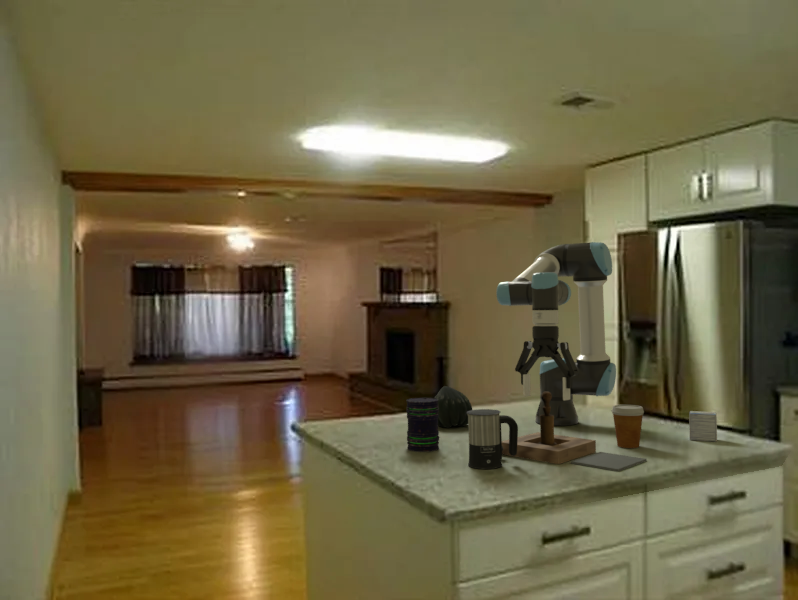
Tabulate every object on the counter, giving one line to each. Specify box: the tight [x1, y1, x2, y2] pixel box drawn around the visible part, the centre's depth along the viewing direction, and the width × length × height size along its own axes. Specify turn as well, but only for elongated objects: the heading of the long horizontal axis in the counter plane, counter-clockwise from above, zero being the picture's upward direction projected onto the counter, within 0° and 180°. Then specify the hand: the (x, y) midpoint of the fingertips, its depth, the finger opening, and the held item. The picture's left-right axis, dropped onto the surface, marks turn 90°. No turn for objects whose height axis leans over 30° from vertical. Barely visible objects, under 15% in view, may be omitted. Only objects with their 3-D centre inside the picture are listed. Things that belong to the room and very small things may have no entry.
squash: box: [434, 385, 473, 429], centre depth 255 cm, size 14×15×15 cm
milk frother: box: [467, 408, 519, 470], centre depth 197 cm, size 14×16×15 cm
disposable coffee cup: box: [610, 404, 645, 449], centre depth 215 cm, size 10×10×12 cm
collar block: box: [502, 431, 597, 465], centre depth 207 cm, size 20×20×4 cm
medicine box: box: [688, 410, 718, 443], centre depth 223 cm, size 8×4×9 cm, turn 65°
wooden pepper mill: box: [538, 391, 557, 446], centre depth 207 cm, size 7×6×18 cm
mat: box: [570, 451, 647, 472], centre depth 194 cm, size 14×16×1 cm
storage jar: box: [405, 397, 440, 453], centre depth 216 cm, size 10×10×15 cm
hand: (546, 398), depth 207 cm, fingers open, 13 cm apart
